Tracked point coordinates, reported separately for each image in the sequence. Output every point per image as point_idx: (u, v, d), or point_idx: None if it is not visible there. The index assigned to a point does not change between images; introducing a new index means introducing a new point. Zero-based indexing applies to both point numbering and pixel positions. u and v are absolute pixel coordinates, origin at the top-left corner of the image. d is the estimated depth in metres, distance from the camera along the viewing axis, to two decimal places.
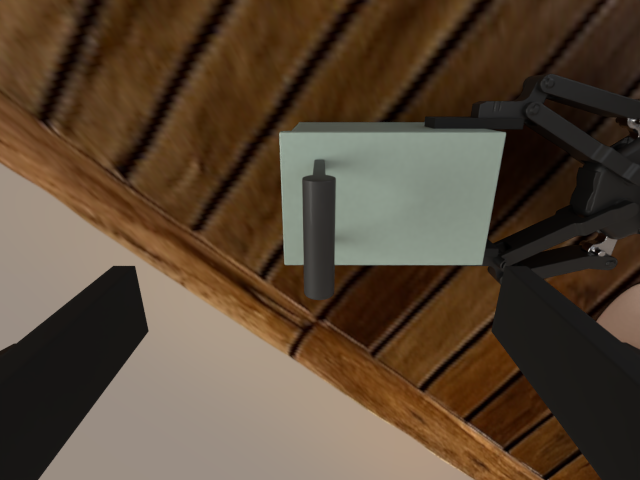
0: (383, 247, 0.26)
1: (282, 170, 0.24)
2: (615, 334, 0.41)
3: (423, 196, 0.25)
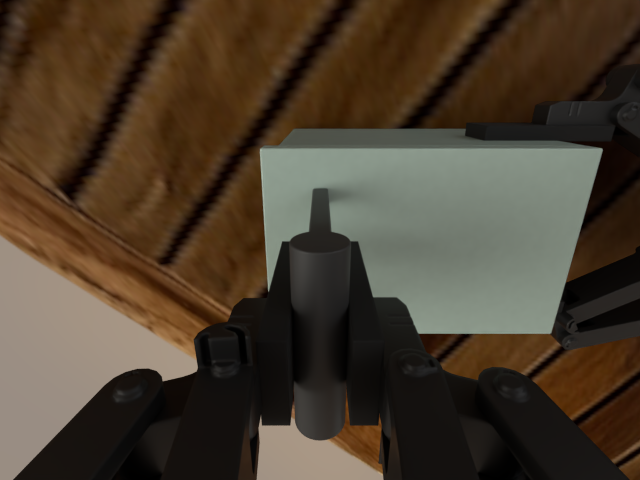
0: (411, 310, 0.18)
1: (265, 204, 0.16)
2: None
3: (472, 240, 0.17)
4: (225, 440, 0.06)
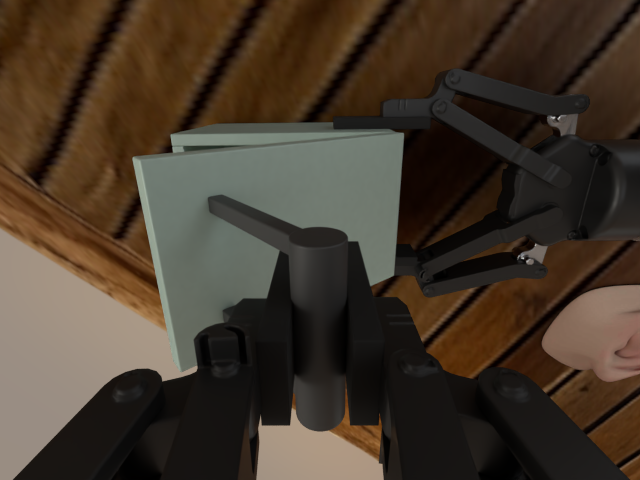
0: None
1: (155, 225, 0.14)
2: (566, 344, 0.39)
3: (342, 217, 0.20)
4: (224, 440, 0.06)
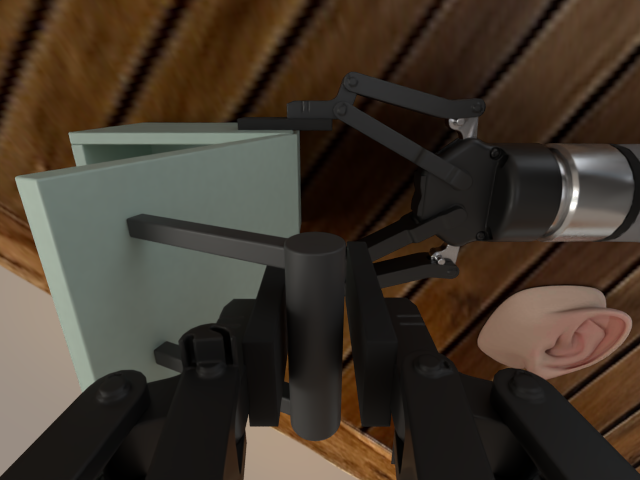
0: None
1: (65, 263, 0.10)
2: (499, 343, 0.39)
3: (256, 223, 0.19)
4: (210, 441, 0.06)
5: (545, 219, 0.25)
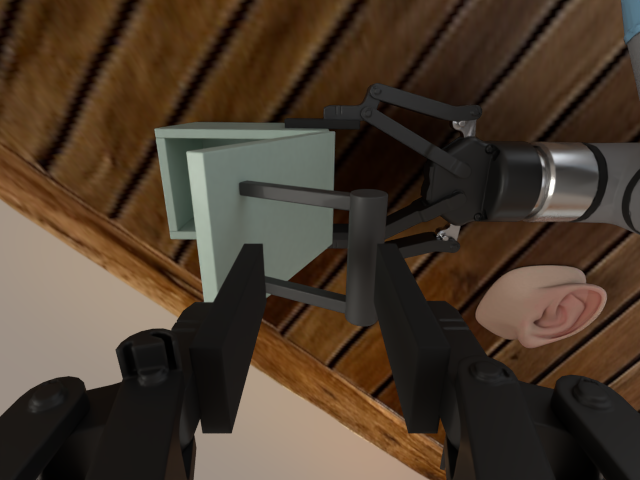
0: (290, 260, 0.25)
1: (210, 206, 0.17)
2: (494, 315, 0.46)
3: None
4: (151, 448, 0.06)
5: (529, 201, 0.31)
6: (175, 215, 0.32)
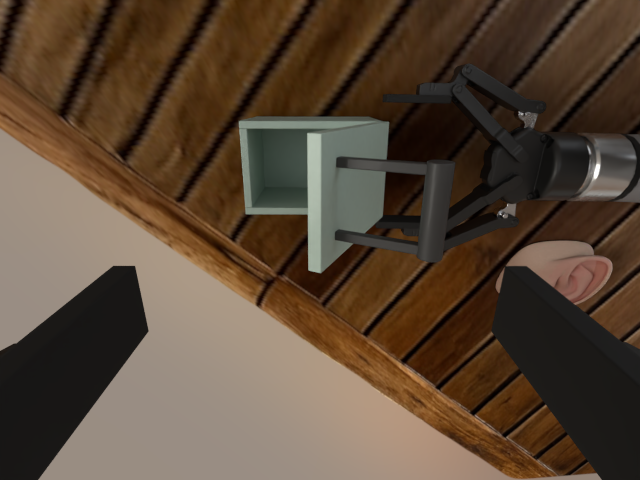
0: (358, 224, 0.31)
1: (322, 173, 0.23)
2: None
3: (370, 175, 0.32)
4: None
5: (577, 182, 0.37)
6: (251, 194, 0.38)
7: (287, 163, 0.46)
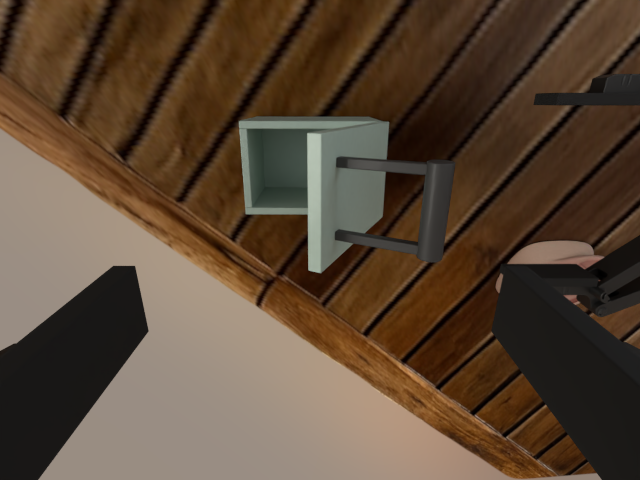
0: (358, 224, 0.31)
1: (322, 173, 0.23)
2: None
3: (370, 175, 0.32)
4: None
5: None
6: (251, 194, 0.38)
7: (287, 163, 0.46)
